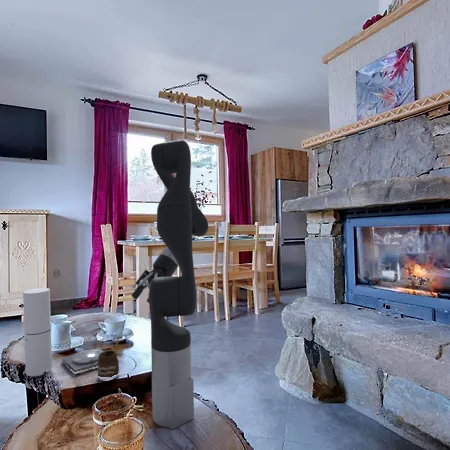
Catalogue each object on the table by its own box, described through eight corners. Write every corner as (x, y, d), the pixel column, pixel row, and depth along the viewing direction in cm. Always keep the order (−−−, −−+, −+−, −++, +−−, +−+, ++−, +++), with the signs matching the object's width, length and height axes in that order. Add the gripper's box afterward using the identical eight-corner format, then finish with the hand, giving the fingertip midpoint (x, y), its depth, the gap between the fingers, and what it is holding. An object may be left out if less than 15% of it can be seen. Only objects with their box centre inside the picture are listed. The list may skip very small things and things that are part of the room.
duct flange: (113, 362, 108) (113, 355, 108) (75, 375, 100) (74, 366, 100) (98, 351, 117) (98, 344, 117) (62, 362, 109) (62, 354, 109)
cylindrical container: (40, 377, 100) (38, 293, 99) (20, 375, 101) (17, 292, 100) (57, 366, 106) (55, 288, 106) (37, 364, 108) (35, 287, 107)
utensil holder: (100, 372, 102) (99, 333, 101) (121, 371, 102) (120, 332, 102) (95, 382, 96) (94, 341, 95) (117, 381, 97) (116, 340, 96)
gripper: (150, 251, 118) (121, 290, 110) (176, 255, 108) (147, 297, 100) (162, 264, 122) (136, 302, 114) (188, 269, 112) (161, 311, 104)
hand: (141, 300), depth 107 cm, fingers open, 8 cm apart
